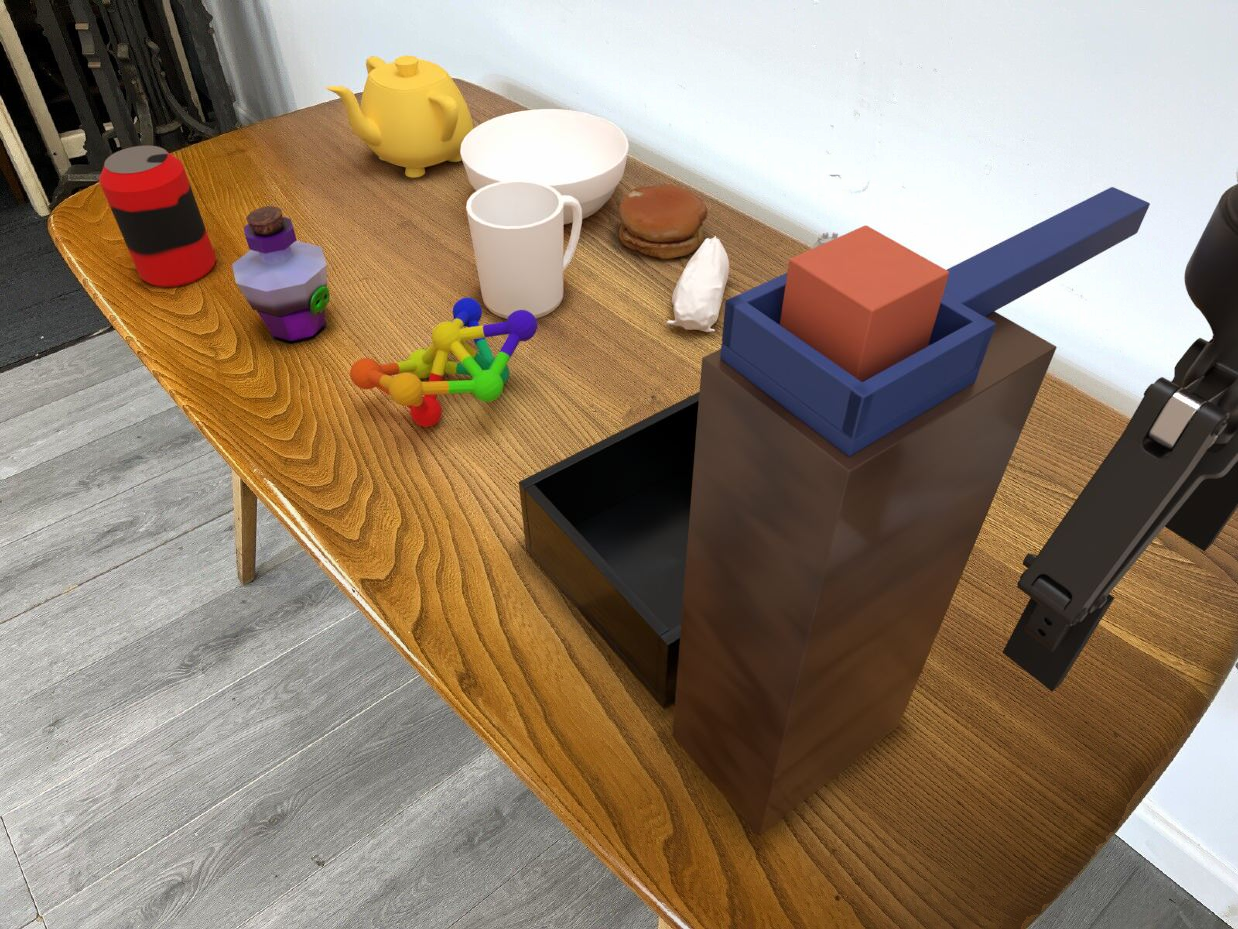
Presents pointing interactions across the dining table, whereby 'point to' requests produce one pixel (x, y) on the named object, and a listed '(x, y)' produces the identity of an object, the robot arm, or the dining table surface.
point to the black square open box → (622, 538)
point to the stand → (827, 571)
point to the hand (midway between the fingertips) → (1111, 596)
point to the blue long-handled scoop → (957, 337)
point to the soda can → (157, 215)
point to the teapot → (409, 113)
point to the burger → (662, 221)
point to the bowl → (549, 154)
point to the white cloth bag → (701, 288)
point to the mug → (521, 245)
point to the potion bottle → (283, 277)
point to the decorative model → (449, 362)
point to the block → (863, 301)
